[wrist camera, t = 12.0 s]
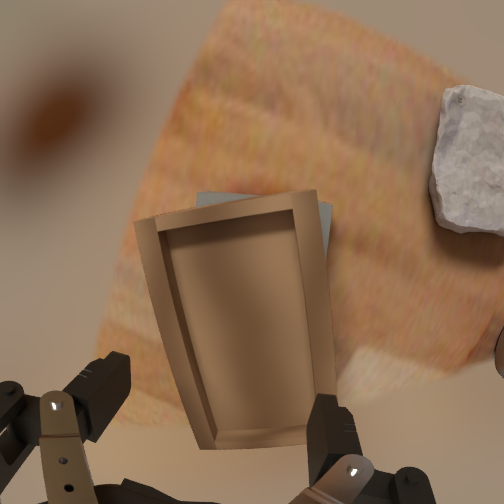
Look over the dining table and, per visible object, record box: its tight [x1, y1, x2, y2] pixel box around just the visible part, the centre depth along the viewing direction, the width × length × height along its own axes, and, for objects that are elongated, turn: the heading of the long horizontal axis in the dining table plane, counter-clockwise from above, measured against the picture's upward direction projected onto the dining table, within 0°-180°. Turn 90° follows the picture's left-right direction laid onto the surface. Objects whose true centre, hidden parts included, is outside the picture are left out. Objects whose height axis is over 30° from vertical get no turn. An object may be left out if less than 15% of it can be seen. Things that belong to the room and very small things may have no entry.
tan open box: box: [134, 189, 337, 450], centre depth 19 cm, size 9×15×5 cm, turn 10°
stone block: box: [429, 85, 504, 237], centre depth 20 cm, size 12×5×10 cm
